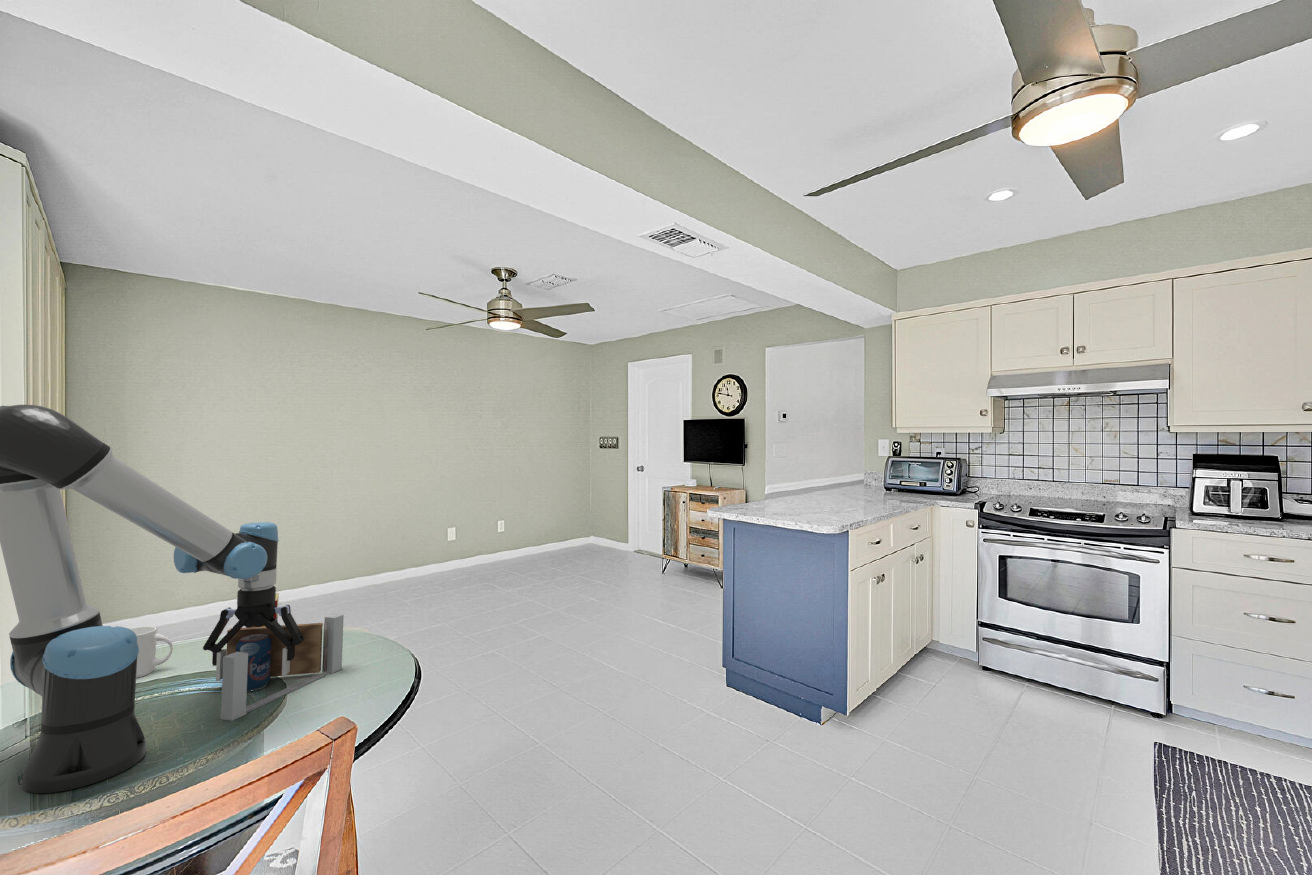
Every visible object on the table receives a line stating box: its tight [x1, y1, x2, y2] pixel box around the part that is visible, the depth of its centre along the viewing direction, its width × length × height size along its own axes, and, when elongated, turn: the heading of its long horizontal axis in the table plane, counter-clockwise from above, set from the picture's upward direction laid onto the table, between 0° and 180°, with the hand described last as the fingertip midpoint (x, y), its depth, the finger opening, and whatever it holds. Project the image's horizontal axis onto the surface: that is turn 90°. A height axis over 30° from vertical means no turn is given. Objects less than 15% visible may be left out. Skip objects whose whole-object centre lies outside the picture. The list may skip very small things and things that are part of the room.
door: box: [226, 622, 328, 678], centre depth 137 cm, size 22×3×12 cm, turn 107°
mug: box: [128, 625, 174, 679], centre depth 138 cm, size 9×12×11 cm
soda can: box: [236, 633, 272, 692], centre depth 131 cm, size 7×7×12 cm
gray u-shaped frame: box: [220, 613, 345, 722], centre depth 129 cm, size 29×3×14 cm, turn 166°
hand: (253, 676), depth 132 cm, fingers open, 13 cm apart
